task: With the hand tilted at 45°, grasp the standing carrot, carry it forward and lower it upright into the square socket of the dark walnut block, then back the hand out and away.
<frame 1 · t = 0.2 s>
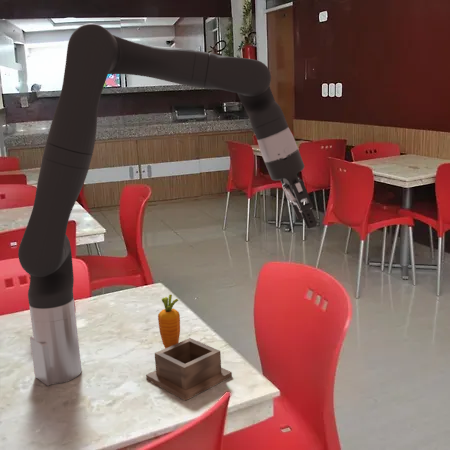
hand: (307, 222, 119), 31 cm above the table, tool tilted 20°, fingers open, 8 cm apart
carrot: (171, 356, 128), on the table
water bottle: (55, 321, 152), on the table
socket block: (189, 377, 117), on the table
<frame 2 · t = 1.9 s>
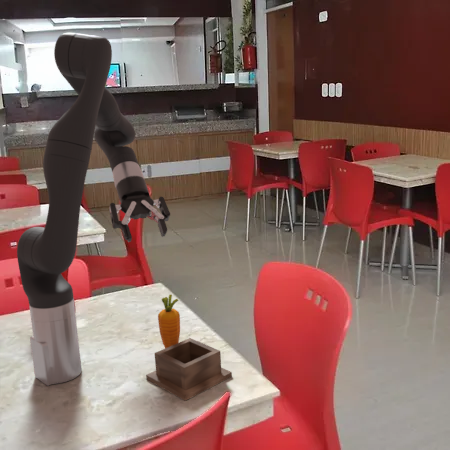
hand: (147, 237, 132), 26 cm above the table, tool tilted 45°, fingers open, 8 cm apart
nothing on the table moved.
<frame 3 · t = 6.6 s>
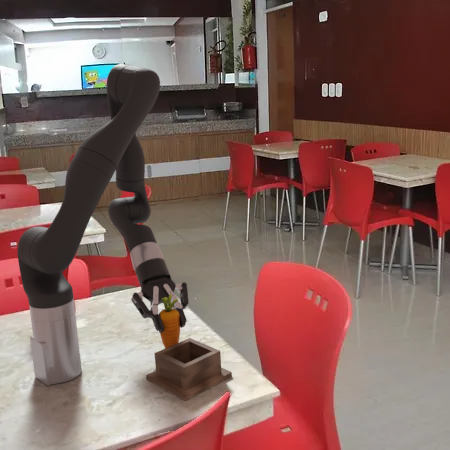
hand: (172, 328, 124), 8 cm above the table, tool tilted 45°, fingers closed on carrot, 4 cm apart
carrot: (171, 356, 128), on the table, touching gripper
everything else where it was.
when the fingers open (10 cm above the table, at t = 12.4 s): carrot drops 1 cm, resting on socket block.
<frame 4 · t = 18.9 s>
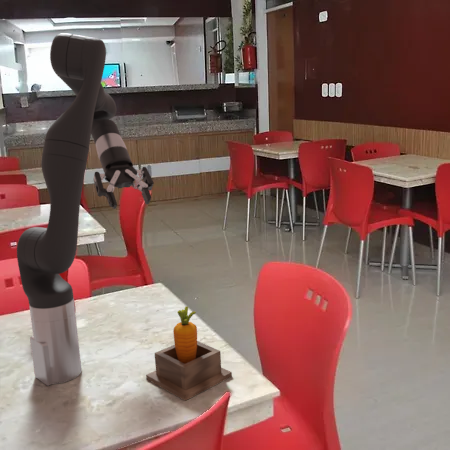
hand: (132, 204, 135), 34 cm above the table, tool tilted 45°, fingers open, 8 cm apart
carrot: (187, 374, 117), point 1 cm above the table, touching socket block
everything else where it was.
at the end: carrot 0.2 cm off-centre on the socket block, point 0.8 cm above the socket block's base; carrot tilted 1°; the gripper is holding nothing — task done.
